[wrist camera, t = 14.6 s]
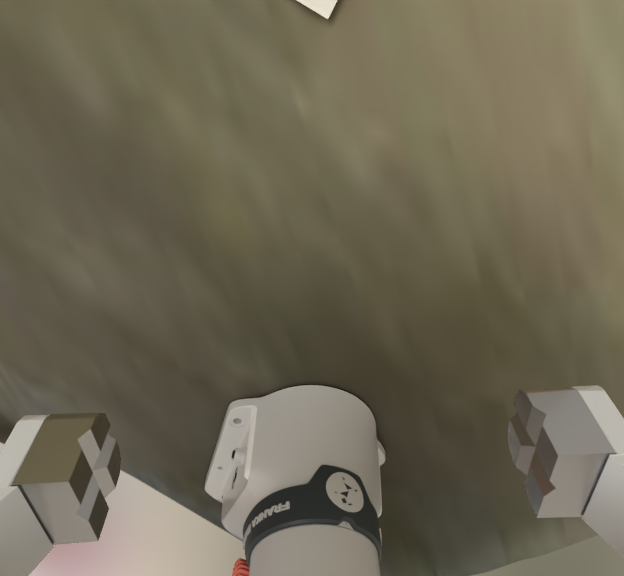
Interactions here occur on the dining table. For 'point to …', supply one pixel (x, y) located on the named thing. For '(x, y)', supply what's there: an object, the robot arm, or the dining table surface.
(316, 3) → the plate
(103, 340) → the dining table surface
